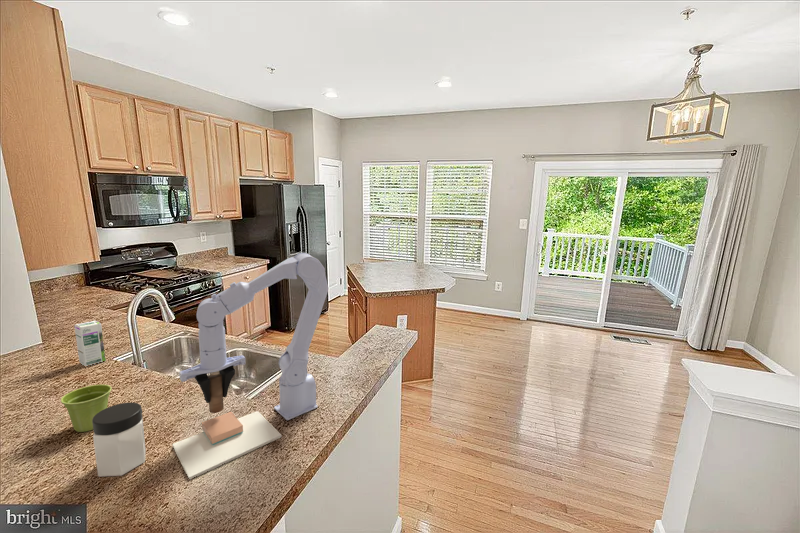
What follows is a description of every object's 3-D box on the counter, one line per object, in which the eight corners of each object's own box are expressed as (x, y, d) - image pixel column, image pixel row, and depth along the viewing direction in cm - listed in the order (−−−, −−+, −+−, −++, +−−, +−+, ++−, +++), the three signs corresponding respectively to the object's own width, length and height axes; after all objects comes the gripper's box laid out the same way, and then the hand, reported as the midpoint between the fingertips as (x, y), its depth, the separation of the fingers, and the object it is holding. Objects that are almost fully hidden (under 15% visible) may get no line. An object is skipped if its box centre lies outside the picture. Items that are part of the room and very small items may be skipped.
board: (257, 412, 94) (257, 410, 94) (281, 437, 84) (281, 434, 84) (172, 446, 80) (172, 443, 80) (189, 480, 70) (188, 477, 70)
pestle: (221, 404, 89) (219, 372, 88) (225, 409, 87) (223, 376, 85) (207, 409, 87) (205, 376, 85) (211, 414, 85) (209, 380, 83)
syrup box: (85, 367, 117) (80, 327, 115) (78, 363, 120) (73, 323, 118) (106, 361, 122) (101, 322, 120) (99, 357, 125) (95, 319, 123)
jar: (156, 449, 79) (152, 401, 77) (132, 476, 71) (127, 423, 69) (114, 450, 78) (109, 402, 76) (85, 478, 70) (78, 424, 68)
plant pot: (77, 418, 89) (73, 387, 88) (120, 411, 93) (117, 381, 91) (56, 440, 81) (51, 406, 79) (105, 432, 84) (101, 399, 83)
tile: (231, 411, 90) (242, 425, 84) (231, 418, 90) (243, 432, 85) (201, 422, 85) (211, 437, 79) (201, 429, 85) (212, 445, 80)
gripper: (237, 335, 92) (239, 382, 94) (174, 350, 82) (178, 402, 84) (247, 343, 87) (249, 392, 89) (182, 359, 77) (186, 414, 79)
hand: (216, 398), depth 86 cm, fingers closed on pestle, 3 cm apart
